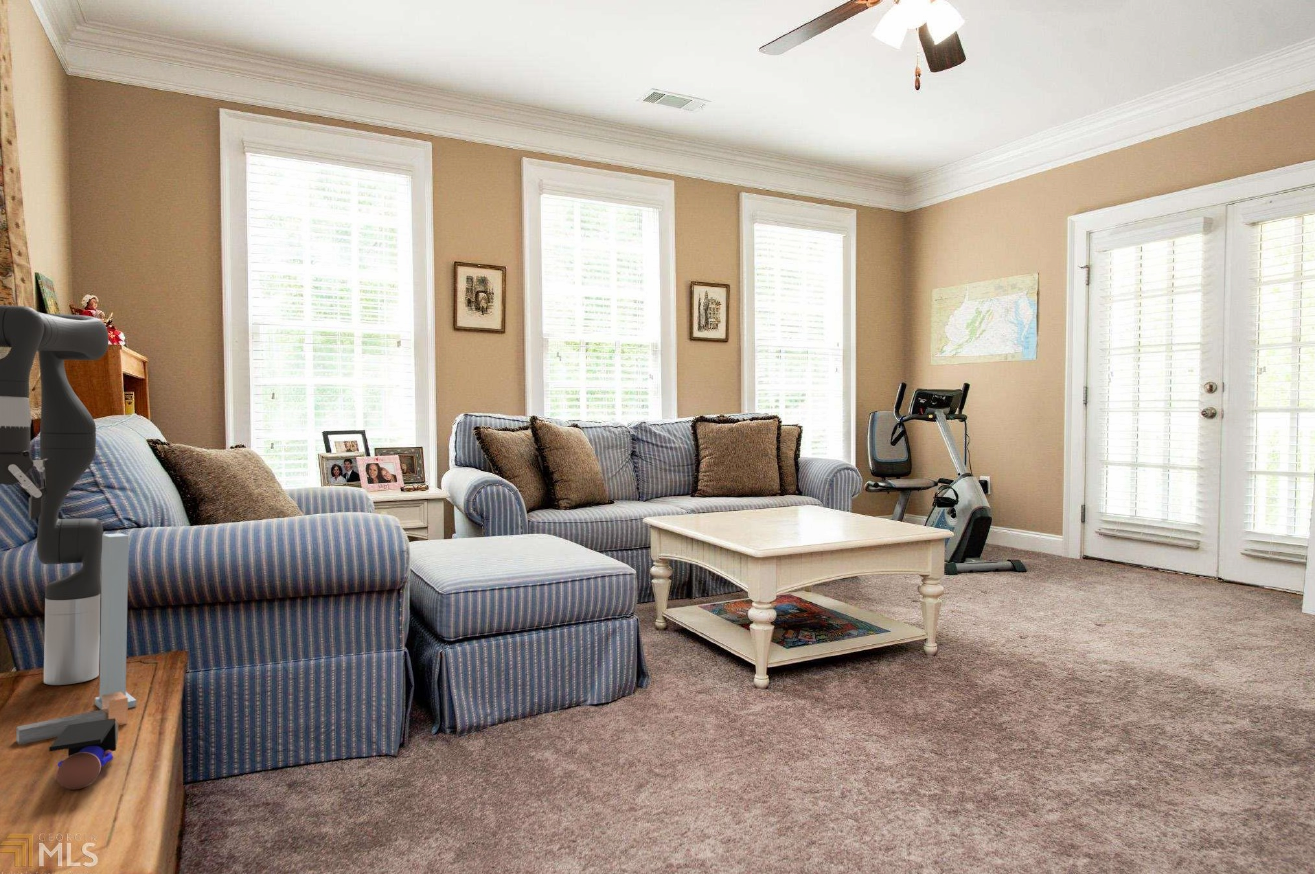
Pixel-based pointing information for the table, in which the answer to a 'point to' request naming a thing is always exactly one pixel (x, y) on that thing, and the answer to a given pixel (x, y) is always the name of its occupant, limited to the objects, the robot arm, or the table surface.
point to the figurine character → (85, 751)
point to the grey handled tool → (75, 720)
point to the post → (114, 617)
